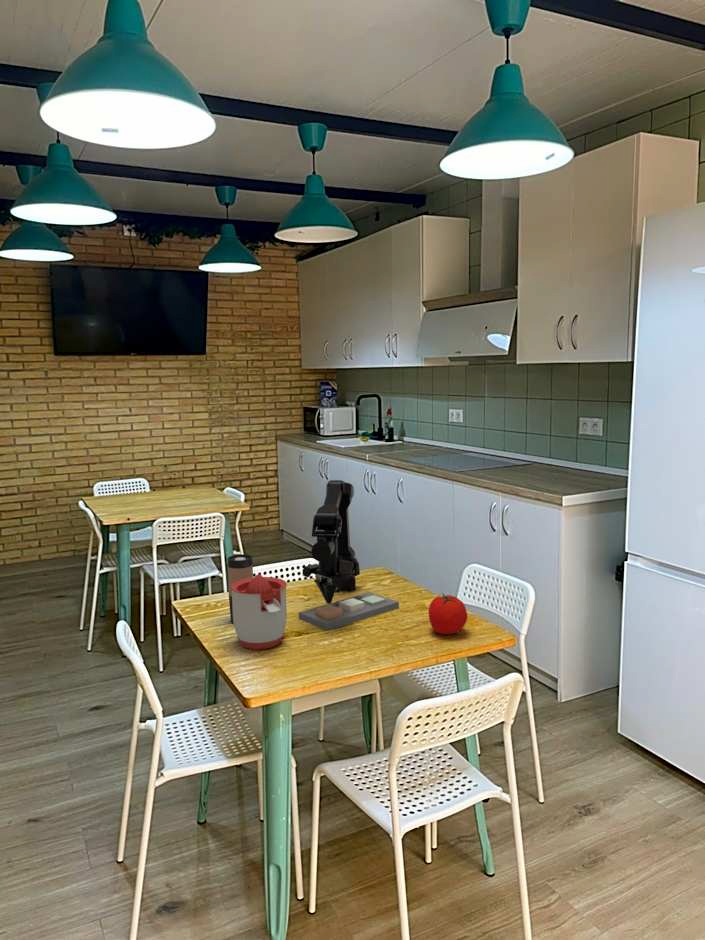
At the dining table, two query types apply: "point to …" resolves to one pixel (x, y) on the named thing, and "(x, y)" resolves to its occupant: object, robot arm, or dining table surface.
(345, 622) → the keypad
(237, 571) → the travel mug
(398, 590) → the dining table surface
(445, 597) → the tomato
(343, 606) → the key offwhite
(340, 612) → the key terracotta
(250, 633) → the citrus juicer
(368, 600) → the key sage
